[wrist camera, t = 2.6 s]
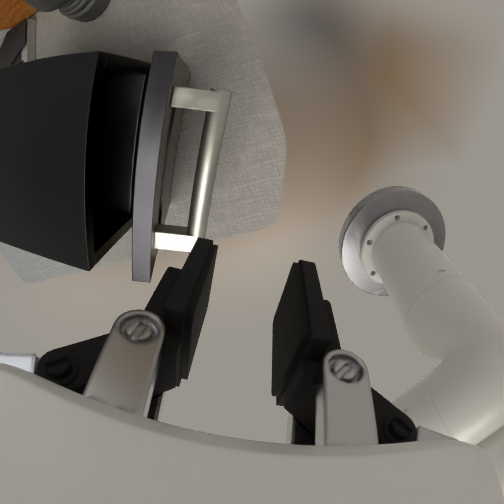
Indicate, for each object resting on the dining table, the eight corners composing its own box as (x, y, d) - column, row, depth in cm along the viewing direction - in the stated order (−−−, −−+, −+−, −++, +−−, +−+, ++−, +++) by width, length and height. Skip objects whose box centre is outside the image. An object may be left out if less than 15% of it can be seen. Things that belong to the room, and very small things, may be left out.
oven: (176, 71, 29) (98, 51, 14) (157, 202, 38) (89, 271, 22) (66, 71, 29) (-28, 77, 13) (58, 184, 37) (-22, 233, 21)
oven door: (225, 77, 31) (243, 61, 16) (200, 208, 39) (200, 288, 24) (178, 71, 29) (154, 50, 14) (158, 203, 38) (132, 280, 23)
